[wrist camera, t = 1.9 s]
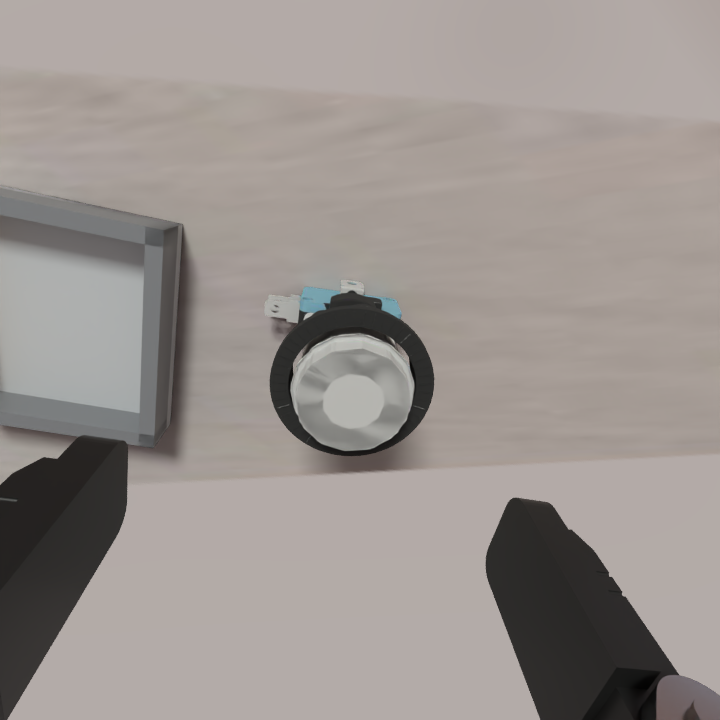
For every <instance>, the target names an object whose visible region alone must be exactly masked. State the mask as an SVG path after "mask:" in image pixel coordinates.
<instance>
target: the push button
mask: <svg viewBox="0 0 720 720" xmlns="http://www.w3.org/2000/svg"><path fill="white" fill-rule="evenodd" d="M352 284H355V285H352ZM363 293H364V287H363V283H361V282H356V281H349V280H341V290H340V291H333V290H327V289H320V288H313V287H305V288H304V289H303V293H302V296H297V295H291V297H284V296H277V295H269V296H268V300H266V301H265V310H264V314H265V315H266V316H271V317H278V318H286V319H287V322H293V323H298V325H297V326H296V327H295V328H294V329H293V330H292V331H291V332H290V333H289V334H288V335H287V336H286V338H285V339H284V340H283V342H282V343H281V345H280V347H279V349H278V351H277V353H276V356H275V358H274V361H273V365H272V368H271V374H270V393H271V398H272V402H273V405H274V408H275V410H276V412H277V414H278V416H279V418H280V419H281V421H282V422H283V424H284V425H285V426H286V428H287V429H288V430H289V431H290V432H291V433H292V434H293V435H294V436H296V437H297V438H298V439H299V440H301V441H302V442H304V443H305V444H307V445H309V446H311V447H313V448H315V449H317V450H320V451H323V452H326V453H330V454H334V455H341V456H360V455H367V454H372V453H376V452H379V451H382V450H385V449H387V448H389V447H391V446H393V445H395V444H397V443H398V442H400V441H401V440H403V439H404V438H405V437H407V436H408V435H409V434H410V433H411V432H412V431H413V430H414V429H415V428H416V427H417V426H418V425H419V423H420V422H421V421H422V419H423V418H424V416H425V414H426V412H427V410H428V408H429V405H430V403H431V399H432V396H433V390H434V373H433V367H432V363H431V360H430V357H429V355H428V353H427V350H426V348H425V346H424V344H423V343H422V341H421V340H420V338H419V337H418V336H417V334H416V333H415V332H414V331H413V330H412V329H411V328H410V327H409V326H408V325H407V324H406V323H404V322H403V321H402V320H400V318H401V314H402V313H401V311H400V308H399V306H398V304H397V301H396V300H395V299H391V298H386V297H383V298H381V297H374V296H367V295H363ZM275 300H280V301H275ZM274 305H277V306H278V307H276V306H274ZM273 311H278V312H277V313H274V312H273ZM396 342H397V343H398V344H399V345H400V346H401V347H402V348H403V349H404V350H405V352H406V353H407V355H408V356H409V362H410V368H409V365H408V363H407V361H406V360H405V359H404V358H403V357H402V356H401V355H400V354H399V351H398V349H397V347H396V345H395V343H396ZM303 348H304V352H303V357H302V359H301V360H300V361H299V363H298V364H297V366H296V368H295V372H294V375H293V362H294V360H295V358H296V356H297V355H298V354H299V352H300V351H301V350H302V349H303Z"/></svg>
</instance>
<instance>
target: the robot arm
mask: <svg viewBox="0 0 720 720" xmlns="http://www.w3.org/2000/svg"><path fill="white" fill-rule="evenodd" d="M127 472H128V447H127V443H126V442H125V441H124V440H117V439H110V438H103V437H96V436H89V435H81V436H80V437H78V438H77V439H76V440H75V441H74V442H73V443H72V444H71V445H70V446H69V447H68V448H67V449H66V450H65V451H64V452H63V454H62V455H61V456H60V457H59V458H58V459H53V458H46V457H43V458H41V459H39V460H37V461H36V462H34V463H32V464H30V465H28V466H26V467H24V468H22V469H20V470H18V471H16V472H14V473H13V474H11V475H10V476H9V477H8V478H7V479H6V480H5V481H4V482H3V483H2V484H1V485H0V720H7V719H8V717H9V716H10V714H11V712H12V711H13V709H14V707H15V705H16V704H17V702H18V701H19V699H20V697H21V696H22V694H23V692H24V691H25V689H26V687H27V685H28V684H29V682H30V680H31V679H32V677H33V675H34V674H35V672H36V670H37V669H38V667H39V665H40V664H41V662H42V660H43V659H44V657H45V655H46V654H47V652H48V650H49V649H50V646H51V645H52V643H53V642H54V640H55V639H56V637H57V635H58V633H59V632H60V630H61V629H62V627H63V625H64V624H65V621H66V620H67V618H68V617H69V615H70V613H71V612H72V610H73V608H74V607H75V605H76V603H77V602H78V600H79V598H80V597H81V595H82V593H83V592H84V590H85V588H86V587H87V585H88V583H89V582H90V580H91V578H92V577H93V575H94V573H95V572H96V570H97V568H98V566H99V565H100V563H101V561H102V560H103V558H104V557H105V555H106V553H107V551H108V550H109V548H110V546H111V545H112V543H113V541H114V540H115V538H116V536H117V534H118V532H119V530H120V528H121V525H122V523H123V519H124V516H125V512H126V506H127ZM486 573H487V578H488V582H489V584H490V587H491V590H492V592H493V595H494V598H495V600H496V603H497V606H498V608H499V611H500V613H501V616H502V619H503V621H504V624H505V627H506V629H507V632H508V634H509V637H510V640H511V643H512V645H513V648H514V651H515V653H516V656H517V659H518V661H519V664H520V667H521V669H522V672H523V675H524V677H525V680H526V683H527V685H528V688H529V691H530V693H531V696H532V698H533V701H534V703H535V706H536V709H537V712H538V714H539V717H540V720H720V696H719V695H718V694H717V693H716V692H714V691H712V690H711V689H710V688H708V687H706V686H705V685H703V684H701V683H699V682H697V681H695V680H693V679H690V678H687V677H684V676H680V675H679V674H678V673H677V671H676V670H675V668H674V667H673V665H672V664H671V662H670V661H669V659H668V658H667V657H666V655H665V654H664V652H663V651H662V649H661V648H660V646H659V645H658V643H657V642H656V641H655V639H654V638H653V636H652V635H651V633H650V632H649V630H648V629H647V627H646V626H645V624H644V623H643V622H642V620H641V619H640V617H639V616H638V614H637V613H636V611H635V610H634V608H633V607H632V605H631V604H630V603H629V602H628V600H627V598H626V597H624V596H622V591H621V590H620V588H619V587H618V585H617V584H616V582H615V581H614V579H613V578H612V577H609V572H608V570H607V569H606V568H605V566H604V565H603V563H602V562H601V560H600V559H599V557H598V556H597V554H596V553H595V552H594V550H593V549H592V548H591V547H590V546H589V545H587V544H586V543H585V542H584V541H583V540H582V539H581V538H580V537H579V536H578V535H577V534H576V533H574V532H573V531H572V530H568V528H567V527H566V525H565V524H564V522H563V521H562V519H561V517H560V516H559V515H558V513H557V511H556V510H555V508H554V507H553V506H552V505H551V504H550V503H548V502H542V501H535V500H528V499H521V498H512V499H511V500H510V501H509V502H508V504H507V506H506V508H505V510H504V513H503V515H502V517H501V520H500V522H499V525H498V527H497V529H496V532H495V534H494V536H493V538H492V541H491V543H490V545H489V548H488V551H487V555H486Z"/></svg>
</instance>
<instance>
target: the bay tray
mask: <svg viewBox="0 0 720 720" xmlns="http://www.w3.org/2000/svg"><path fill="white" fill-rule="evenodd" d="M182 228H183V224H180V223H175V222H170V221H166V220H161V219H156V218H152V217H147V216H142V215H137V214H133V213H128V212H123V211H119V210H114V209H109V208H105V207H100V206H95V205H90V204H86V203H81V202H76V201H72V200H67V199H62V198H58V197H53V196H48V195H43V194H39V193H34V192H29V191H25V190H20V189H15V188H10V187H6V186H1V185H0V425H5V426H11V427H18V428H24V429H31V430H37V431H44V432H51V433H57V434H64V435H70V436H77V437H80V436H81V435H89V436H96V437H103V438H110V439H117V440H124V441H125V442H126V443H127V444H130V445H136V446H143V447H149V448H154V447H155V446H156V444H157V443H158V441H159V440H160V438H161V437H162V435H163V434H164V432H165V431H166V429H167V428H168V426H169V425H170V421H171V405H172V389H173V373H174V357H175V340H176V324H177V308H178V292H179V276H180V260H181V244H182Z"/></svg>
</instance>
